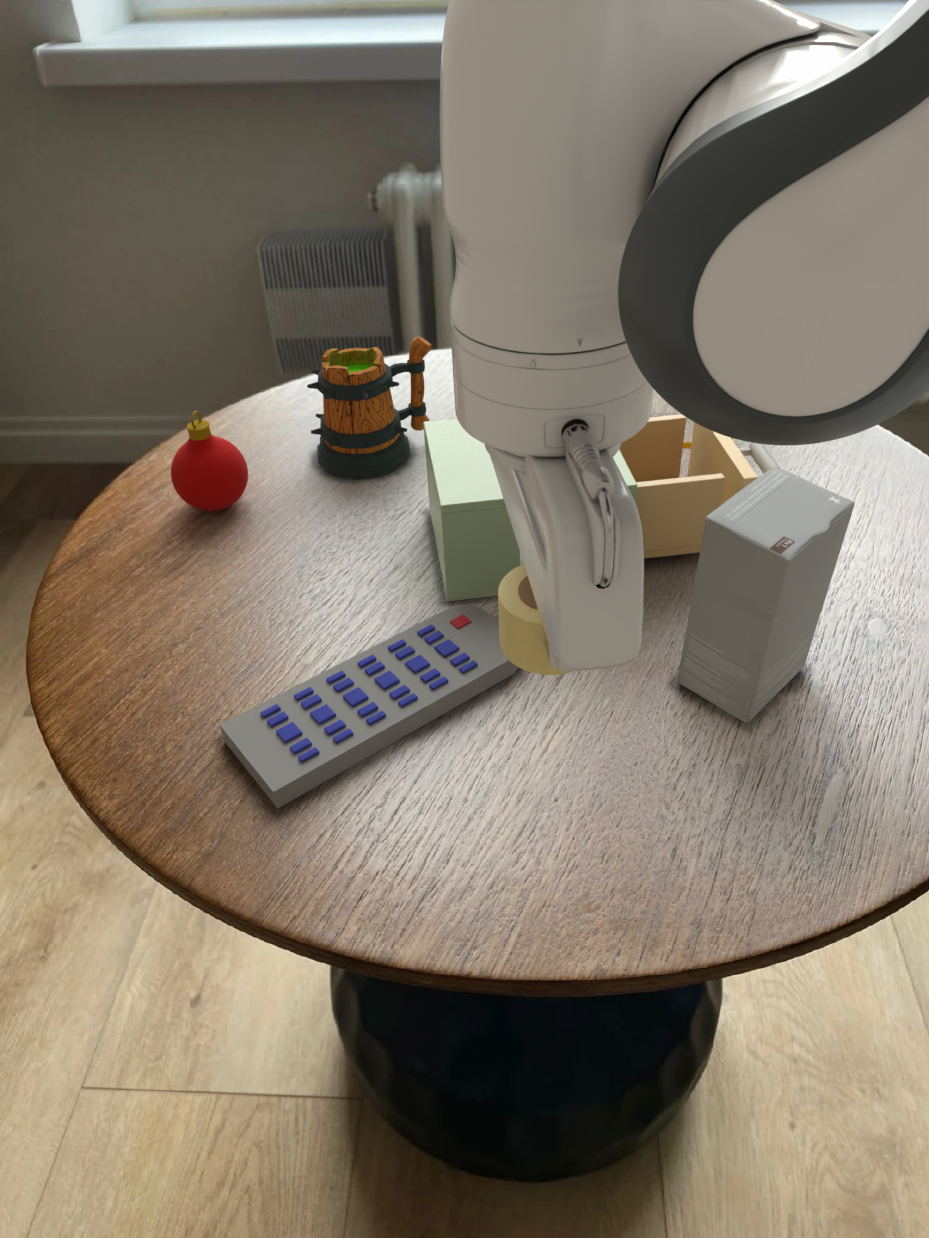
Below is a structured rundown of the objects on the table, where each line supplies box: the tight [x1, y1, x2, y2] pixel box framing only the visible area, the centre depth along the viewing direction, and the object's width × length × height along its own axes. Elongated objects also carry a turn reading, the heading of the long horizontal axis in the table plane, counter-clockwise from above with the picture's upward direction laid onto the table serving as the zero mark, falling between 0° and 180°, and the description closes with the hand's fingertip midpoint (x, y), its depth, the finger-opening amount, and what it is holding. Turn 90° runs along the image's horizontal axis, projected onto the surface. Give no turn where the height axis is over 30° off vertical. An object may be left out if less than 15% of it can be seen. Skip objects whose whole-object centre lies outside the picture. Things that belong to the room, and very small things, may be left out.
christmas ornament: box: [170, 410, 249, 512], centre depth 90 cm, size 7×7×10 cm
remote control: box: [219, 603, 520, 809], centre depth 71 cm, size 8×23×2 cm, turn 127°
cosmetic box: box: [676, 467, 855, 724], centre depth 67 cm, size 8×7×16 cm
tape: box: [497, 564, 571, 676], centre depth 51 cm, size 6×6×4 cm
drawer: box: [619, 413, 782, 559], centre depth 84 cm, size 19×12×8 cm, turn 98°
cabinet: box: [423, 417, 637, 602], centre depth 83 cm, size 16×14×10 cm
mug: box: [306, 336, 432, 480], centre depth 96 cm, size 13×10×12 cm
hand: (550, 615), depth 51 cm, fingers closed on tape, 5 cm apart
